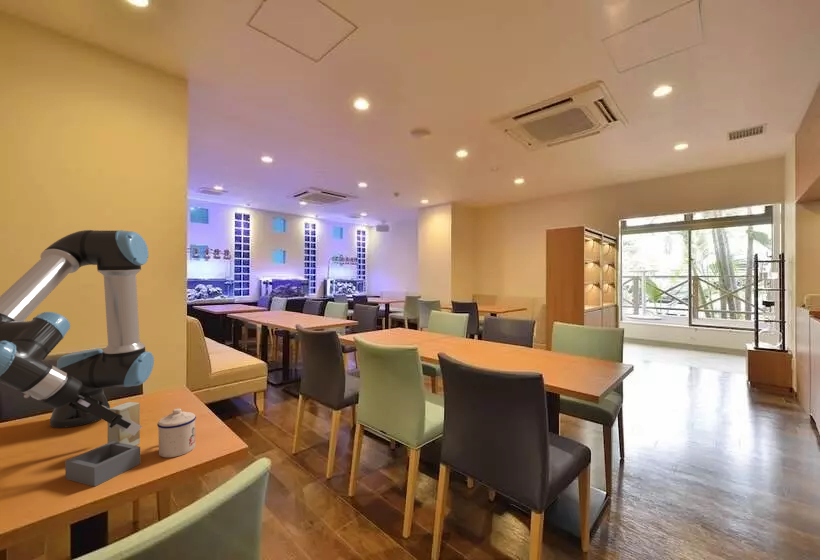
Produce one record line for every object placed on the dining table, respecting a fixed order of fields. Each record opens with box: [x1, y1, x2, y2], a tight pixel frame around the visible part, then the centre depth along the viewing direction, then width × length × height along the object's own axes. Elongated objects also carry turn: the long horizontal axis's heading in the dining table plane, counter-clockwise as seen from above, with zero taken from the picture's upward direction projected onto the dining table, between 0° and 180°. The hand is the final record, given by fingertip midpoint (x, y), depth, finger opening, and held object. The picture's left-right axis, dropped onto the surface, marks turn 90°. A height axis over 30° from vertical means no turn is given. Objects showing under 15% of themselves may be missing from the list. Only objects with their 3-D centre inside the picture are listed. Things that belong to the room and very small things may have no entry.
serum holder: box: [64, 441, 141, 488], centre depth 89 cm, size 10×10×4 cm
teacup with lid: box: [157, 408, 197, 458], centre depth 101 cm, size 12×9×12 cm
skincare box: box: [106, 401, 141, 446], centre depth 101 cm, size 6×4×12 cm
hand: (127, 425), depth 101 cm, fingers open, 13 cm apart
